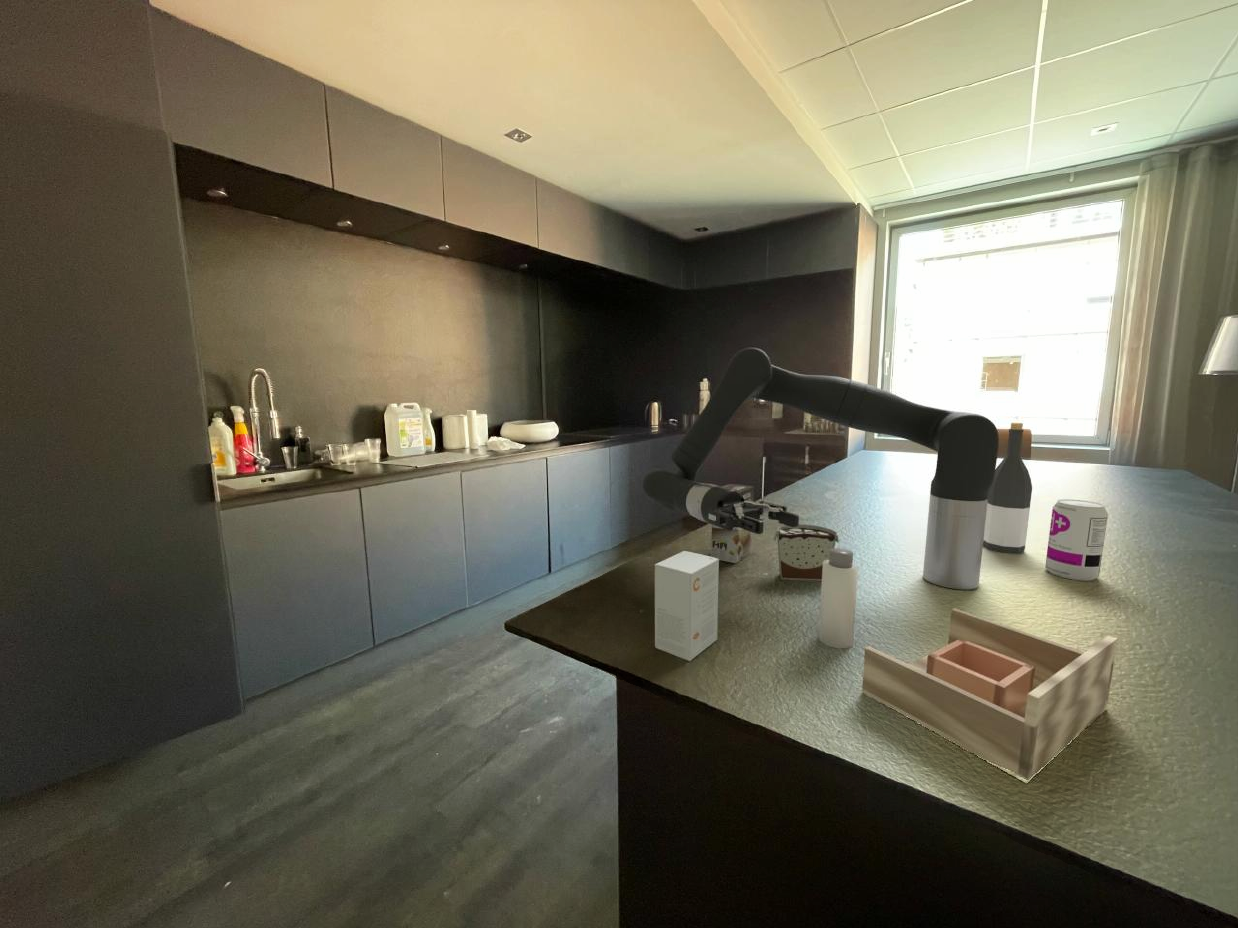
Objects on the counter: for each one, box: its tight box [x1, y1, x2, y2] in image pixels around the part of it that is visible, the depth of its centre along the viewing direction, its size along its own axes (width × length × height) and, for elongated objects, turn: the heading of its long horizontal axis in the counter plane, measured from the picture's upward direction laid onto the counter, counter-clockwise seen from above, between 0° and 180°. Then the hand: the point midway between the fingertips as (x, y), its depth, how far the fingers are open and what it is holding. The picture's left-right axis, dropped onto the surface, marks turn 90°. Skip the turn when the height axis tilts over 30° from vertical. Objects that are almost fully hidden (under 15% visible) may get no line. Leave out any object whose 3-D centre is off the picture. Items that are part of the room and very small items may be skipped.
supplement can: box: [1044, 498, 1109, 582], centre depth 100 cm, size 8×8×15 cm
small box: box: [654, 550, 720, 662], centre depth 73 cm, size 8×6×13 cm
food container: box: [773, 523, 840, 582], centre depth 101 cm, size 12×6×10 cm, turn 84°
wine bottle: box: [983, 422, 1033, 555], centre depth 115 cm, size 8×8×30 cm
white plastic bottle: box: [818, 547, 859, 650], centre depth 73 cm, size 5×5×14 cm
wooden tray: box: [861, 607, 1118, 780], centre depth 59 cm, size 22×17×9 cm
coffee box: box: [710, 483, 755, 564], centre depth 112 cm, size 9×6×16 cm
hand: (780, 524), depth 82 cm, fingers open, 8 cm apart
